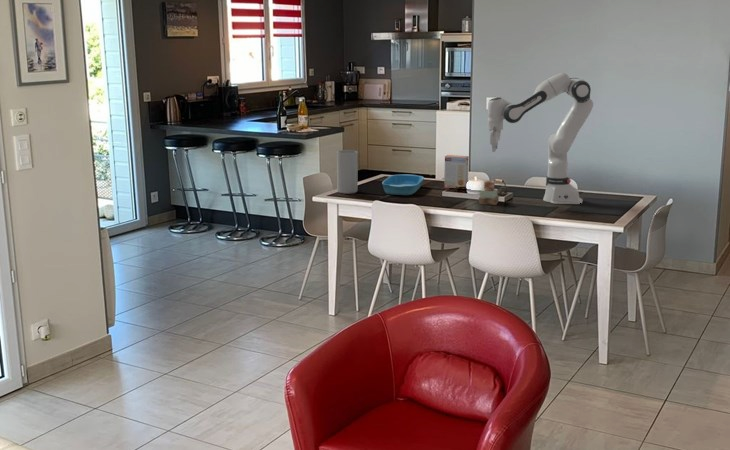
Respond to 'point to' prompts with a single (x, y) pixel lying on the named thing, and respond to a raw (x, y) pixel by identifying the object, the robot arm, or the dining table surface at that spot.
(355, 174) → the cylinder vase
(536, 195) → the dining table surface
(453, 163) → the cracker box
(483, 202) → the walnut block
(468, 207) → the dining table surface
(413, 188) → the casserole dish
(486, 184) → the terracotta cube
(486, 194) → the sage block
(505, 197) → the dining table surface
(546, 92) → the robot arm
